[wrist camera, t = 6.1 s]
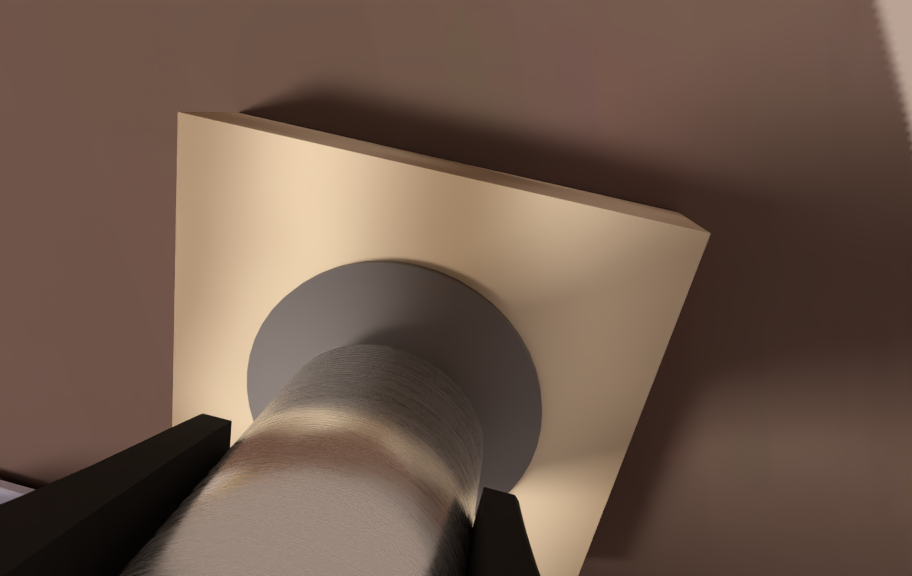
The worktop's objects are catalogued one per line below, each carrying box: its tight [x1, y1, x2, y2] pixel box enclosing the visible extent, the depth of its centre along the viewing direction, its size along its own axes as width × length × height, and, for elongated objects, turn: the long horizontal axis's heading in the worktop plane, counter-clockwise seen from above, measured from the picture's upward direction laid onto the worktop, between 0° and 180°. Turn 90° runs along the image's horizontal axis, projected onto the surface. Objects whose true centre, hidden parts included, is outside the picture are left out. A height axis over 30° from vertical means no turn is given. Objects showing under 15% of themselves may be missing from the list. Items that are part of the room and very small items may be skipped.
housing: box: [118, 344, 484, 576], centre depth 9 cm, size 5×5×7 cm
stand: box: [172, 112, 711, 576], centre depth 14 cm, size 12×12×3 cm
